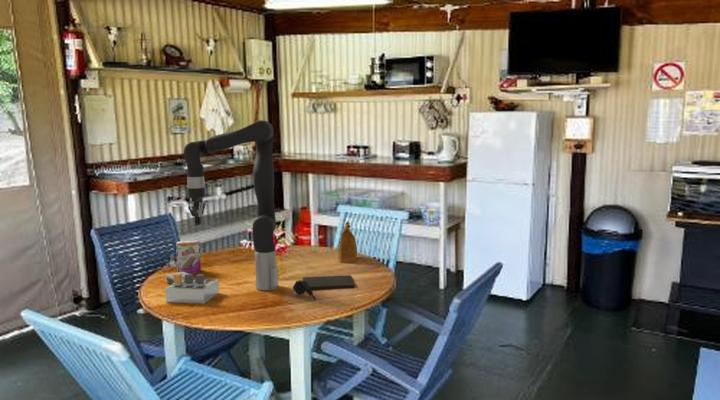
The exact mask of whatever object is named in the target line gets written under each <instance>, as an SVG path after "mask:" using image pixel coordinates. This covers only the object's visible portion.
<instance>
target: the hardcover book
mask: <svg viewBox="0 0 720 400" xmlns="http://www.w3.org/2000/svg"><path fill="white" fill-rule="evenodd" d="M302 281H306V282H307V284H308V285H309V287H310V288H311V290H312V291H322V290H323V291H324V290H340V289H341V290H343V289H355V287H356V286H355V282H354V280H353V277H352V275H328V276H325V275H324V276H304V277H302Z"/></svg>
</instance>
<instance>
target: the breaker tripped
mask: <svg viewBox="0 0 720 400" xmlns="http://www.w3.org/2000/svg"><path fill="white" fill-rule="evenodd" d="M175 273H176V274H174V283H173V284H171V285H173V286H180V285H182V284H183V283H184V281H182V274H177V273H178V272H175Z"/></svg>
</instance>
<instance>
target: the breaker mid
mask: <svg viewBox="0 0 720 400" xmlns="http://www.w3.org/2000/svg"><path fill="white" fill-rule="evenodd" d="M193 279H194V273H191V274H186V275H185V283H184V286H192V285H193V284H195V282H193Z"/></svg>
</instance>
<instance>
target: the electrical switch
mask: <svg viewBox="0 0 720 400" xmlns="http://www.w3.org/2000/svg"><path fill="white" fill-rule="evenodd" d="M176 273H177V274H182V278H185V275H186V274H189V273H186V272H173V273H169V274H164V277H165V278H166V281H167V282H166V283H167V284H170V285H172V284H173V283H174V274H176Z"/></svg>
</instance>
